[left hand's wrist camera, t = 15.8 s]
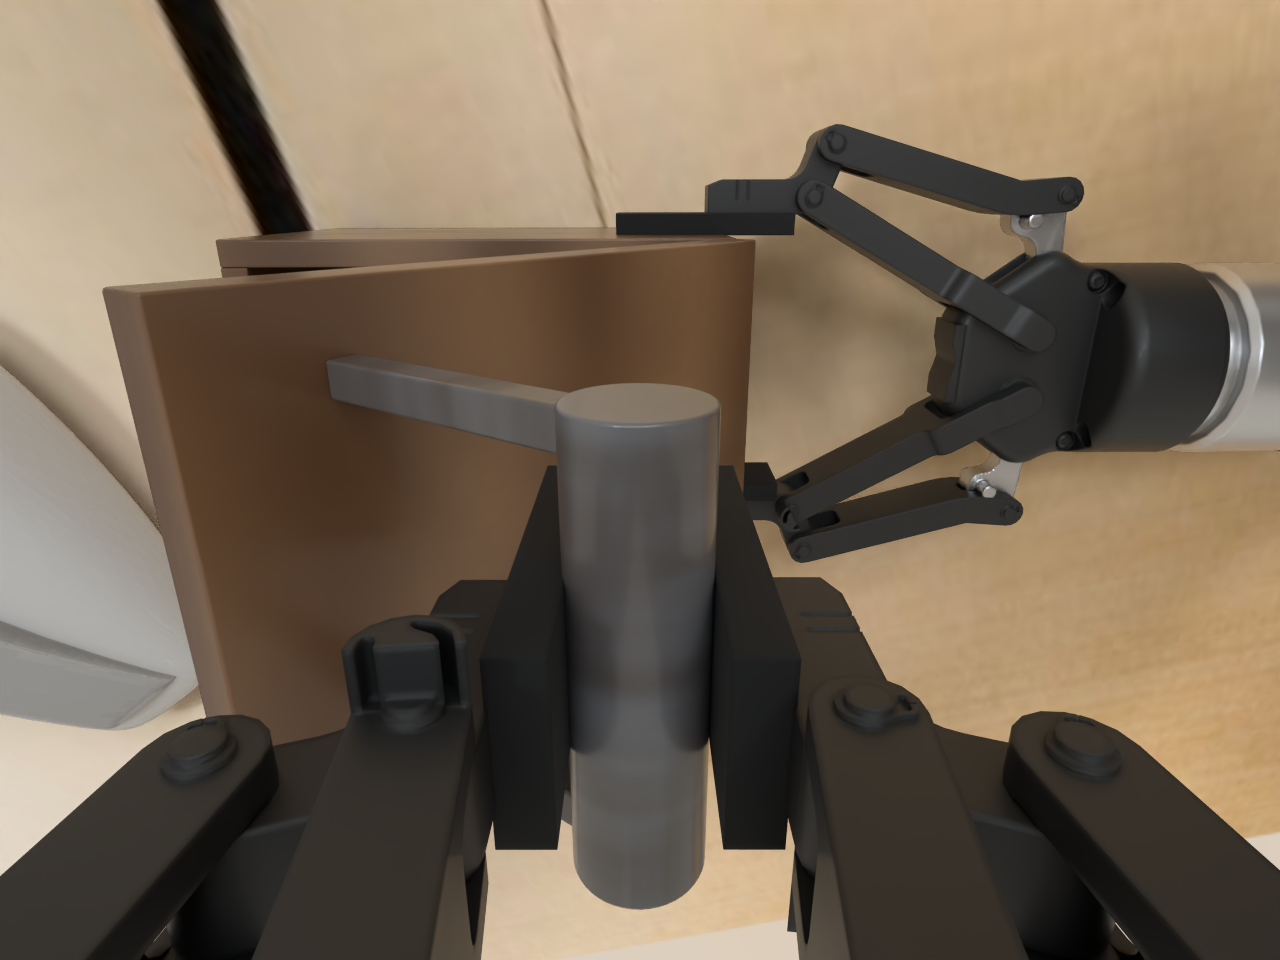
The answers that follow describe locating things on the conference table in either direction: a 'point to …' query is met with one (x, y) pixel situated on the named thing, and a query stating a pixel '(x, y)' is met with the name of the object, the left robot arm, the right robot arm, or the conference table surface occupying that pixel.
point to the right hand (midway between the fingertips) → (618, 360)
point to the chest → (412, 246)
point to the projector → (80, 584)
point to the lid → (460, 492)
